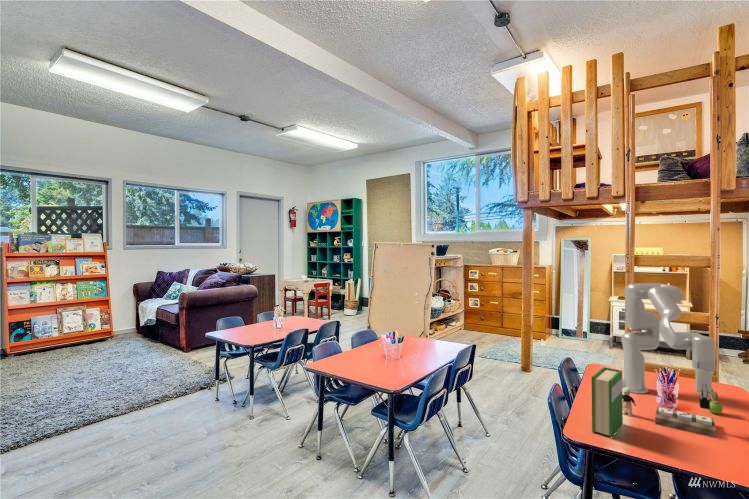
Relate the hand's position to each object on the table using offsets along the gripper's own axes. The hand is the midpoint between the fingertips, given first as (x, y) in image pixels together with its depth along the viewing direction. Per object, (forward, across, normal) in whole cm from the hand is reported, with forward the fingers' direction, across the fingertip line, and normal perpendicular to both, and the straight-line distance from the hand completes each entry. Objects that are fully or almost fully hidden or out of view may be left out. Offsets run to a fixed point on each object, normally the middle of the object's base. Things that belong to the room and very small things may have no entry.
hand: (704, 407), depth 162 cm
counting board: (+9, -1, -7) cm, 12 cm away
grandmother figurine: (+9, +2, -28) cm, 30 cm away
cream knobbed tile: (+7, -1, 0) cm, 7 cm away
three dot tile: (+7, -1, -7) cm, 10 cm away
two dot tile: (+7, -1, -13) cm, 15 cm away
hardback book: (+10, +23, -33) cm, 42 cm away
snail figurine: (+9, -24, +4) cm, 26 cm away
